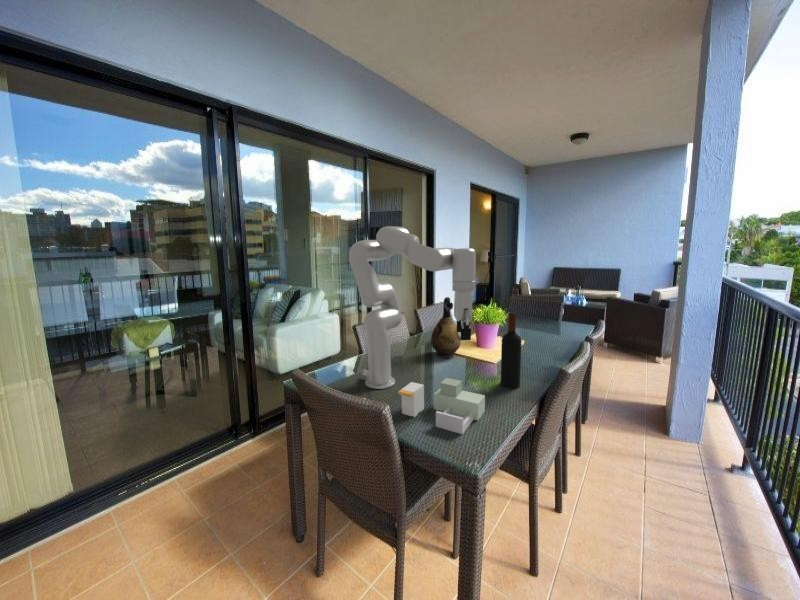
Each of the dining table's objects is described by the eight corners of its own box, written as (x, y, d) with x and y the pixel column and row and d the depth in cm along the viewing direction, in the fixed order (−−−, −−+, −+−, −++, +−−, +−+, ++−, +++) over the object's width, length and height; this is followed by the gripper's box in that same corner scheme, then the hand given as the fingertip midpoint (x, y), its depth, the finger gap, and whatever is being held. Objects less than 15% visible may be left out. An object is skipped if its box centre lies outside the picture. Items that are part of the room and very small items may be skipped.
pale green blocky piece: (420, 422, 112) (420, 393, 110) (442, 401, 126) (442, 375, 125) (466, 435, 104) (467, 405, 102) (484, 411, 118) (485, 384, 116)
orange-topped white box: (398, 416, 117) (398, 391, 115) (412, 405, 124) (411, 381, 123) (411, 419, 114) (411, 394, 112) (424, 408, 121) (423, 384, 120)
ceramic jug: (463, 359, 170) (463, 300, 165) (432, 359, 170) (431, 301, 165) (458, 348, 187) (458, 294, 182) (430, 349, 187) (429, 295, 182)
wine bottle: (497, 385, 139) (498, 313, 134) (506, 379, 144) (508, 310, 139) (514, 390, 134) (516, 315, 129) (523, 384, 139) (525, 312, 134)
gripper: (449, 283, 121) (449, 329, 124) (455, 289, 104) (455, 343, 107) (470, 282, 121) (470, 329, 124) (480, 289, 104) (479, 343, 107)
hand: (463, 335), depth 116 cm, fingers open, 9 cm apart
